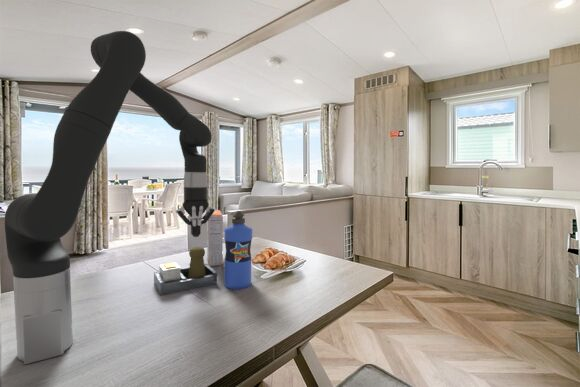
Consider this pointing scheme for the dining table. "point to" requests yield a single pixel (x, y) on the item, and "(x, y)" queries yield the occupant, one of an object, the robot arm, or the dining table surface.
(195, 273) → the cork
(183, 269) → the gray desk organizer
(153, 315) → the dining table surface
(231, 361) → the dining table surface
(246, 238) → the water bottle
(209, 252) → the cracker box
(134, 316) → the dining table surface
